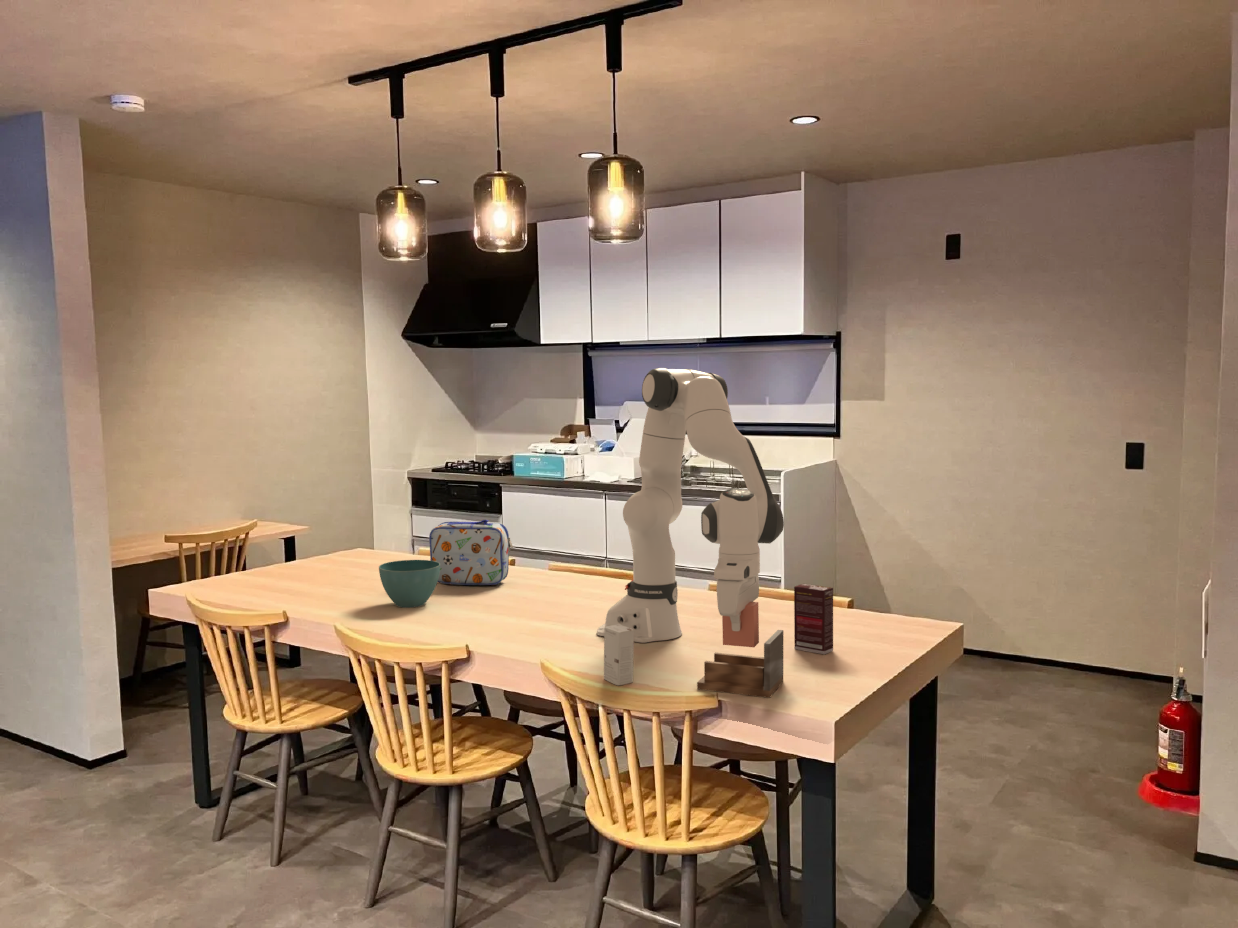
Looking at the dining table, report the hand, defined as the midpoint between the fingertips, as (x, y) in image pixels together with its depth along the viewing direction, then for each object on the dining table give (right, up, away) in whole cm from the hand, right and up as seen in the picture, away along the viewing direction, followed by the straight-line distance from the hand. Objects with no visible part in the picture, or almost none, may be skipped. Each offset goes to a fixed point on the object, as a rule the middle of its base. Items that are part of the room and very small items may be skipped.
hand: (740, 627), depth 207 cm
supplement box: (+22, -11, +27) cm, 37 cm away
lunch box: (-76, -5, +112) cm, 135 cm away
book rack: (0, -13, +1) cm, 13 cm away
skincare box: (-26, -13, +5) cm, 30 cm away
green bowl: (-90, -7, +82) cm, 122 cm away
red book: (0, -4, 0) cm, 4 cm away
